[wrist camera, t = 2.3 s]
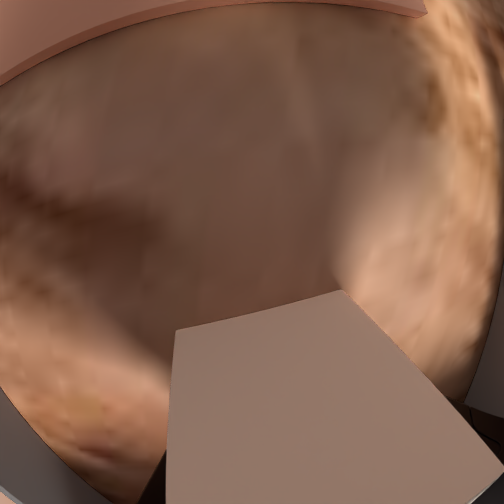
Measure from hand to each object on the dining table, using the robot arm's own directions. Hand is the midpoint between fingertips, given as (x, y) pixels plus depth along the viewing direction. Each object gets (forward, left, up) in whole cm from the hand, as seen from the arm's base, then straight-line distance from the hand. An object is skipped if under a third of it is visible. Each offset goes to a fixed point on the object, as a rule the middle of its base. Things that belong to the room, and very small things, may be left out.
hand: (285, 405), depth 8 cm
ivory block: (0, 0, -2) cm, 2 cm away
